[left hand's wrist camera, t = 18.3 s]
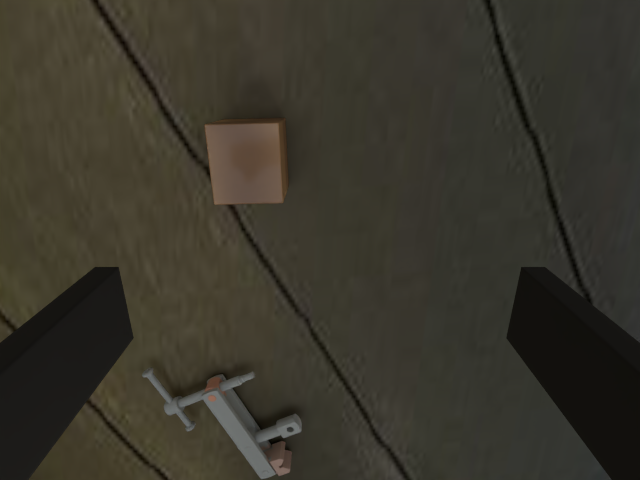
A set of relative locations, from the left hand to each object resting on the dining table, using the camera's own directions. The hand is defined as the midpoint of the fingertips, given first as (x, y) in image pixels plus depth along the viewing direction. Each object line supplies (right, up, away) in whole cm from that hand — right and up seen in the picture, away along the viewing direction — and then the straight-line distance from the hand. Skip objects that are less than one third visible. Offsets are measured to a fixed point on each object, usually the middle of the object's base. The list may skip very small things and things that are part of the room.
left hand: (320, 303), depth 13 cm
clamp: (-8, -13, +23) cm, 28 cm away
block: (-5, +8, +15) cm, 18 cm away
